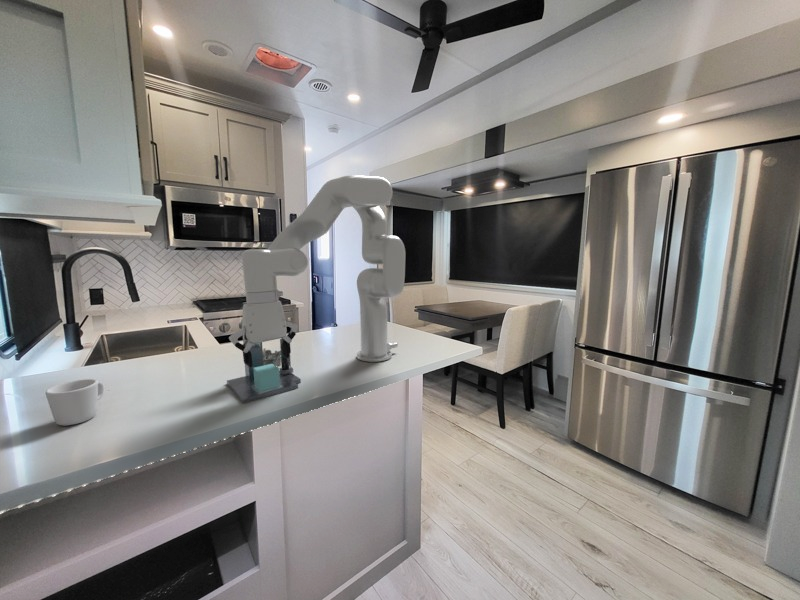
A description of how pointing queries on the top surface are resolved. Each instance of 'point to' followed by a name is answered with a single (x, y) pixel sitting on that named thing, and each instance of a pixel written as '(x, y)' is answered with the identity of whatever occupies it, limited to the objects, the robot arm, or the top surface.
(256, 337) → the robot arm
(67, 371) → the top surface
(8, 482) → the top surface
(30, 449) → the top surface
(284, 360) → the lever
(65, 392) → the cup
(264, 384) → the teal cube block
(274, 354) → the egg carton
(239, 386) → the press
